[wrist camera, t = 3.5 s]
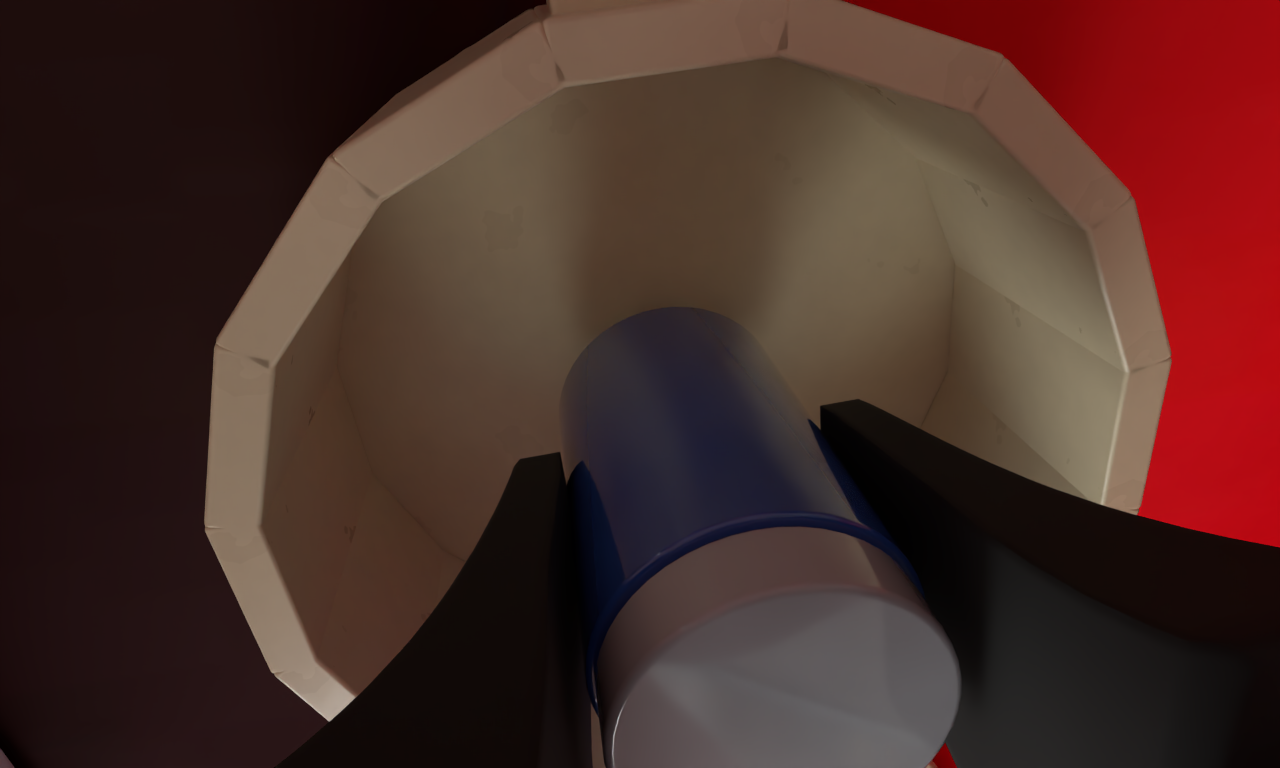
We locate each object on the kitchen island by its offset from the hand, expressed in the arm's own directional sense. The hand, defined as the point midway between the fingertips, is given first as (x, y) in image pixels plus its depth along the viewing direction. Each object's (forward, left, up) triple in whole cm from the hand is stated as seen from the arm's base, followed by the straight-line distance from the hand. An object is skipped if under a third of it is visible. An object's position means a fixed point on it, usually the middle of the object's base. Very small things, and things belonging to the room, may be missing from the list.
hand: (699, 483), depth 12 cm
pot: (0, 0, -5) cm, 5 cm away
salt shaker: (0, 0, -2) cm, 2 cm away
